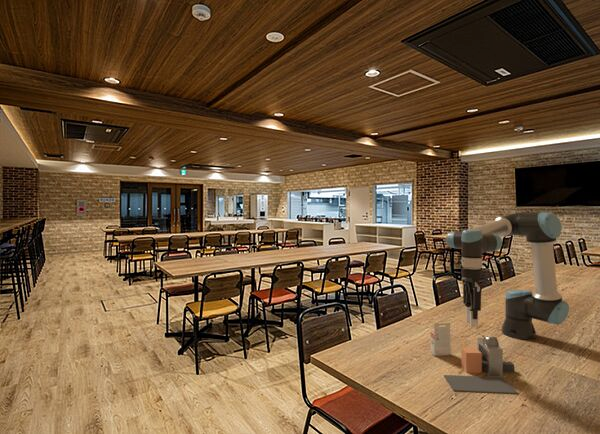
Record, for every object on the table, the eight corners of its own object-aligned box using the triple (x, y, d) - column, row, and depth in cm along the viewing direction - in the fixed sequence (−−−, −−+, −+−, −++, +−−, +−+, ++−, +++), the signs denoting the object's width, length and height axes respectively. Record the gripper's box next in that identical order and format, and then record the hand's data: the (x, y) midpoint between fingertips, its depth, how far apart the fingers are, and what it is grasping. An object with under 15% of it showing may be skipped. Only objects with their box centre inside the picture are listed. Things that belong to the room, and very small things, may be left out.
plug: (509, 368, 138) (509, 348, 137) (515, 374, 133) (515, 354, 132) (461, 366, 139) (461, 347, 139) (466, 372, 134) (466, 352, 134)
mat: (502, 378, 129) (502, 377, 129) (518, 393, 118) (518, 392, 118) (443, 376, 131) (443, 375, 131) (453, 391, 121) (453, 390, 121)
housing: (489, 364, 141) (489, 332, 141) (502, 377, 130) (502, 343, 130) (477, 363, 142) (477, 332, 141) (489, 376, 131) (489, 342, 130)
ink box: (430, 352, 153) (430, 321, 152) (446, 352, 154) (446, 320, 153) (434, 356, 149) (434, 324, 149) (451, 355, 150) (451, 323, 150)
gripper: (454, 264, 145) (454, 317, 145) (470, 271, 128) (470, 331, 128) (472, 264, 144) (472, 318, 144) (491, 271, 127) (491, 332, 127)
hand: (471, 324), depth 136 cm, fingers open, 4 cm apart
